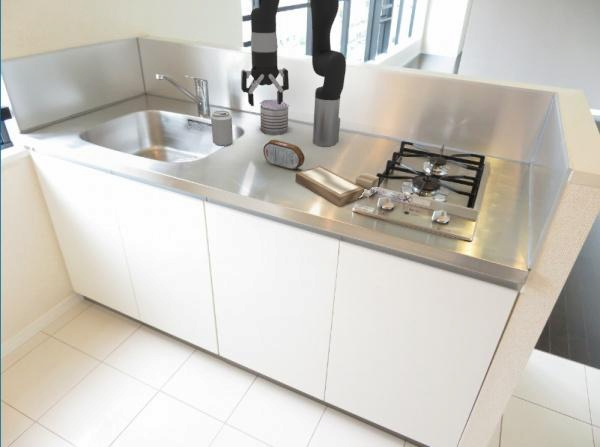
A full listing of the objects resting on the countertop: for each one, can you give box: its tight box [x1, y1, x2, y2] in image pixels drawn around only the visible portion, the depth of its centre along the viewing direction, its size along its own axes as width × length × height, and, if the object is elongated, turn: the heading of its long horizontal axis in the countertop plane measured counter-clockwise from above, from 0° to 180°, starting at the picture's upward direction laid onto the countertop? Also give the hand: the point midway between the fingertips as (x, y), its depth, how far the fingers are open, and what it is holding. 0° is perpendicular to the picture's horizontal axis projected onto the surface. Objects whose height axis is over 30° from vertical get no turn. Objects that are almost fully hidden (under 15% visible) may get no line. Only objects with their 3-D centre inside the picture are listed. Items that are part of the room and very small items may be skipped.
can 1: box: [210, 109, 234, 147], centre depth 155 cm, size 8×8×12 cm
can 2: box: [259, 98, 290, 136], centre depth 168 cm, size 11×11×12 cm
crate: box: [355, 172, 380, 190], centre depth 125 cm, size 5×5×5 cm
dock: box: [295, 165, 365, 208], centre depth 127 cm, size 10×20×3 cm, turn 39°
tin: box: [262, 139, 305, 171], centre depth 139 cm, size 15×3×8 cm, turn 59°
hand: (265, 104), depth 129 cm, fingers open, 8 cm apart
